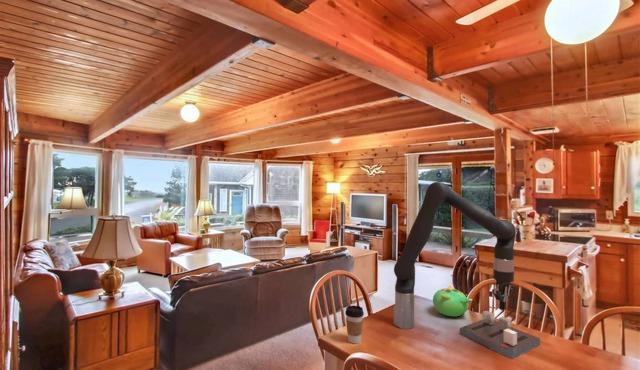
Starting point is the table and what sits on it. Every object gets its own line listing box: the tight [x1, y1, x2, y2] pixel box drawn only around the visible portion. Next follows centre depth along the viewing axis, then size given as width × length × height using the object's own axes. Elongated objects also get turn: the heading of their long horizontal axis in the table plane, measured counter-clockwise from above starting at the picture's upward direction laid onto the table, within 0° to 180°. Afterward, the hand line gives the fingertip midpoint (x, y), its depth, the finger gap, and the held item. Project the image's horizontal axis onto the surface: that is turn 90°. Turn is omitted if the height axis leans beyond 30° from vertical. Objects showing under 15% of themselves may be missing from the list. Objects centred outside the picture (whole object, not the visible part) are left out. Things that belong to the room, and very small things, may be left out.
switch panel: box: [459, 310, 541, 360], centre depth 143 cm, size 22×24×8 cm
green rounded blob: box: [432, 285, 473, 317], centre depth 169 cm, size 18×17×15 cm
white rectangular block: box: [503, 329, 517, 346], centre depth 134 cm, size 3×4×5 cm
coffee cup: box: [344, 305, 365, 344], centre depth 142 cm, size 8×8×15 cm
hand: (502, 309), depth 131 cm, fingers closed
